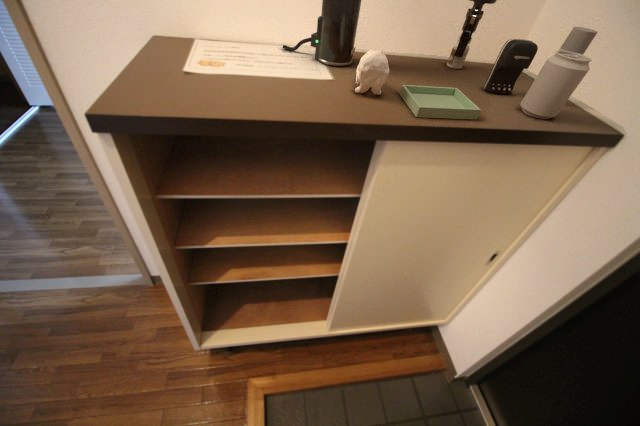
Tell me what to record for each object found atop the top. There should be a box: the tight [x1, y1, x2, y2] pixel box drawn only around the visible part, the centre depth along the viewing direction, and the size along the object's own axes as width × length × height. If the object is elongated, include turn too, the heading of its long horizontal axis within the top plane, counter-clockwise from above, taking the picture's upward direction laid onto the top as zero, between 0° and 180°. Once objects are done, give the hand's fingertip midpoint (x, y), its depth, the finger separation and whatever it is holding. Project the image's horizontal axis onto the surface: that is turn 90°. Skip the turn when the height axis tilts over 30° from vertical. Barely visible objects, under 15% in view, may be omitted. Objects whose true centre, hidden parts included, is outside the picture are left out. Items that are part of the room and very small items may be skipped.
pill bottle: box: [446, 34, 473, 70], centre depth 80 cm, size 4×4×8 cm
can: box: [520, 50, 593, 120], centre depth 60 cm, size 8×8×12 cm
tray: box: [399, 84, 482, 121], centre depth 60 cm, size 13×11×2 cm
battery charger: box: [483, 38, 539, 95], centre depth 67 cm, size 7×4×11 cm, turn 92°
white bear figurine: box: [354, 49, 390, 96], centre depth 62 cm, size 6×8×12 cm
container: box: [558, 26, 598, 55], centre depth 65 cm, size 5×5×15 cm
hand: (458, 54), depth 81 cm, fingers closed on pill bottle, 4 cm apart
